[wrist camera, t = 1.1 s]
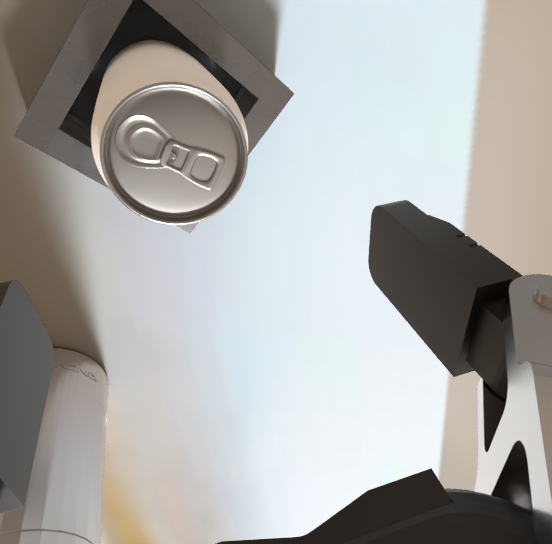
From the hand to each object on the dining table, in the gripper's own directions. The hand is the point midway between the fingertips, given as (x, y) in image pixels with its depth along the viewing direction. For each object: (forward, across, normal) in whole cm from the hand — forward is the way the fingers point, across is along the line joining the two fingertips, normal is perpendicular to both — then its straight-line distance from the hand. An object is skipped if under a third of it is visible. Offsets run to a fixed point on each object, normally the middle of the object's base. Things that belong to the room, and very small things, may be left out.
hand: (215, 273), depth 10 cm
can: (+20, 0, 0) cm, 20 cm away
